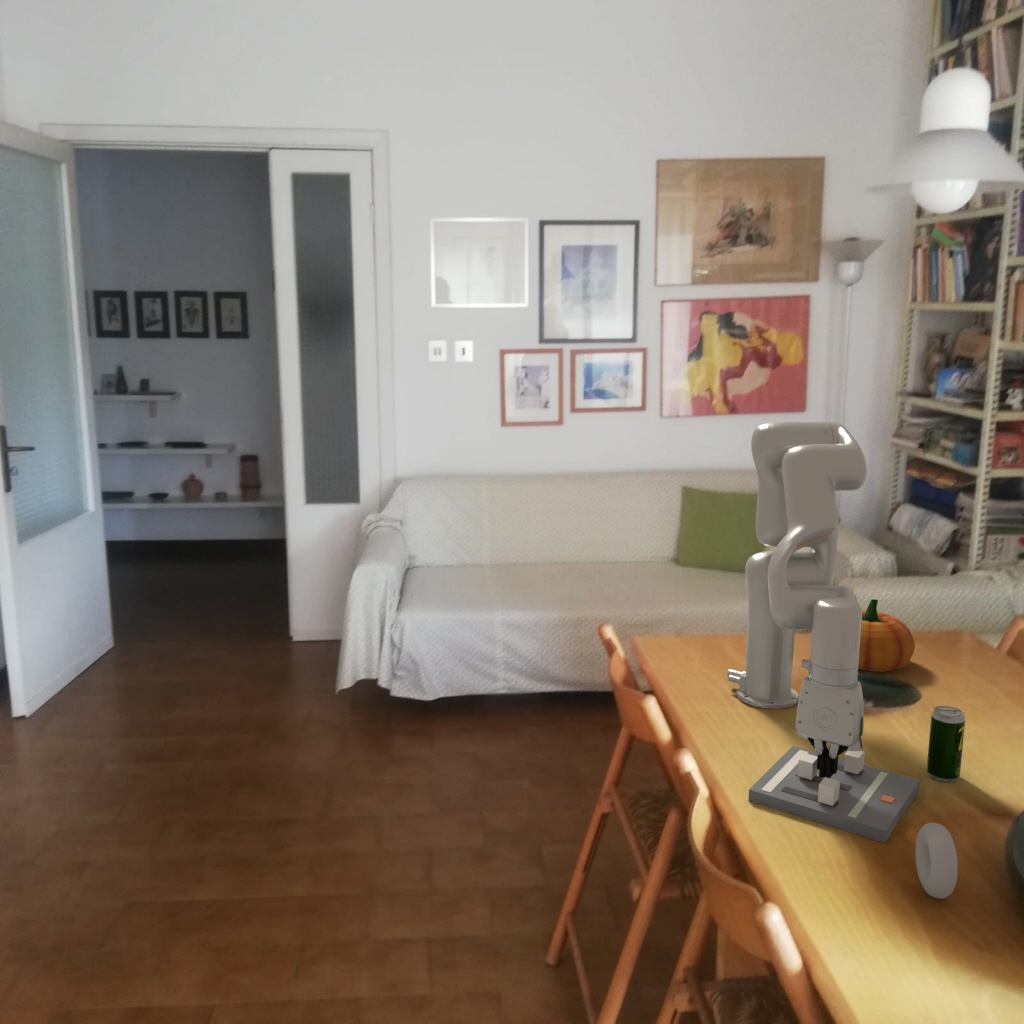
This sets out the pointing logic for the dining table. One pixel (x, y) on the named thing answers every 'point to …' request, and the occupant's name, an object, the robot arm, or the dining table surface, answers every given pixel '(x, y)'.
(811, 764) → the handle
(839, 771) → the panel
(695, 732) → the dining table surface
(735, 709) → the dining table surface
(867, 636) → the pumpkin
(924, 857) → the donut
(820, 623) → the robot arm
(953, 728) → the beer can
